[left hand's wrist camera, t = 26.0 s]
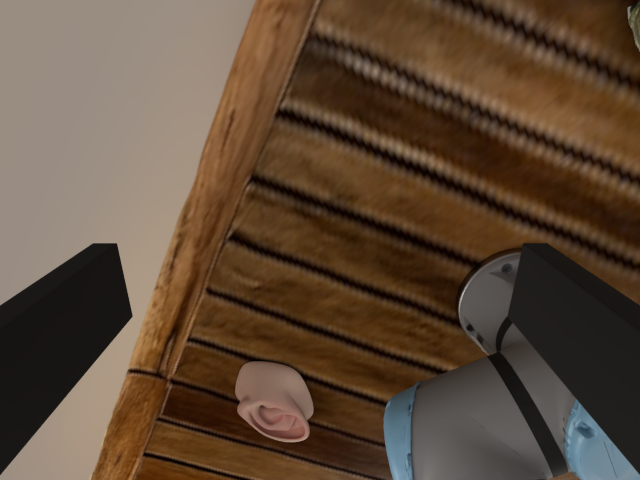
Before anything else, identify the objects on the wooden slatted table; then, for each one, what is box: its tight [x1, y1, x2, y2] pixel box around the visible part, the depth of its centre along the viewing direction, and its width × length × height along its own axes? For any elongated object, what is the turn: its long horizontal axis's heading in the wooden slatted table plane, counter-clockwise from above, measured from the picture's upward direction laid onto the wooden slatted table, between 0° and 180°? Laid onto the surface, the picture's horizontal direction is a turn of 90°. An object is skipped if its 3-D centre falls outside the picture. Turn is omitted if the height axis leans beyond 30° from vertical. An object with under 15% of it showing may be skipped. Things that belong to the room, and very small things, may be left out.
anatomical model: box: [235, 361, 314, 442], centre depth 56 cm, size 13×4×12 cm
